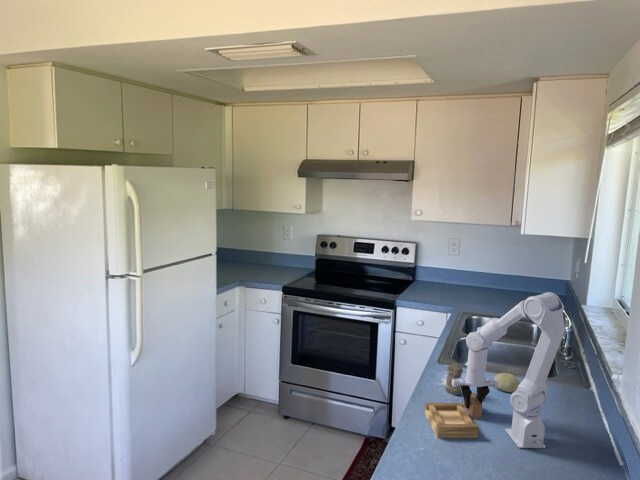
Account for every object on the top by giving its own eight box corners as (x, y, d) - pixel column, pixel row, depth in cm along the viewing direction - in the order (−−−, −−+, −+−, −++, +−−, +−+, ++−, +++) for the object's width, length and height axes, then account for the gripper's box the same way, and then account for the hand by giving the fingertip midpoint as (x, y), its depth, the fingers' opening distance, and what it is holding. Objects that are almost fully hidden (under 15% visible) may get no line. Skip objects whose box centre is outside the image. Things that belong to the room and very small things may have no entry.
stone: (448, 388, 177) (450, 361, 175) (462, 394, 172) (464, 366, 171) (443, 391, 174) (445, 364, 173) (457, 397, 170) (459, 369, 169)
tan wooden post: (481, 418, 157) (483, 405, 156) (471, 418, 157) (473, 405, 156) (472, 405, 165) (473, 393, 164) (463, 405, 165) (464, 393, 164)
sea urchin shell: (489, 385, 176) (494, 364, 180) (491, 393, 182) (496, 373, 186) (516, 392, 172) (521, 371, 175) (518, 400, 177) (522, 380, 181)
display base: (477, 437, 146) (478, 426, 145) (437, 437, 145) (438, 426, 144) (461, 413, 160) (462, 403, 159) (424, 413, 159) (425, 402, 158)
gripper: (493, 362, 163) (489, 400, 165) (450, 362, 162) (446, 400, 164) (502, 371, 156) (498, 411, 158) (457, 371, 155) (453, 411, 157)
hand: (472, 407), depth 161 cm, fingers closed on tan wooden post, 3 cm apart
